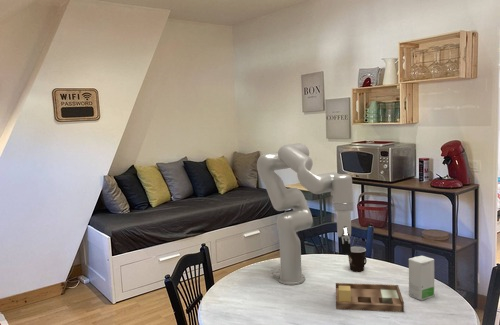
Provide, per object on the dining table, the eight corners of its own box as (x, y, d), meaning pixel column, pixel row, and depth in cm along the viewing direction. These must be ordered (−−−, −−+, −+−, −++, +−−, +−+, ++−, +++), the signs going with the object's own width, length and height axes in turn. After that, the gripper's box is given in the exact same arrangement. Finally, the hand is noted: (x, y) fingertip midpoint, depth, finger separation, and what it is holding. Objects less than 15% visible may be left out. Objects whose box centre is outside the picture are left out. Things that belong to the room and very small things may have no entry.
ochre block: (339, 301, 165) (338, 290, 164) (338, 296, 169) (338, 285, 168) (350, 301, 164) (350, 290, 163) (350, 296, 168) (350, 285, 168)
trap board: (335, 309, 163) (335, 298, 163) (335, 292, 178) (335, 283, 178) (403, 312, 158) (403, 301, 158) (398, 294, 173) (397, 285, 172)
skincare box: (420, 301, 166) (420, 263, 164) (407, 295, 172) (407, 258, 170) (435, 296, 170) (435, 258, 168) (421, 290, 176) (421, 254, 174)
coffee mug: (347, 266, 207) (346, 246, 205) (365, 266, 205) (364, 246, 204) (349, 275, 195) (348, 254, 194) (368, 275, 194) (368, 254, 193)
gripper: (333, 202, 172) (335, 243, 173) (334, 211, 155) (336, 257, 156) (351, 201, 170) (354, 243, 172) (355, 210, 153) (357, 256, 155)
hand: (345, 249), depth 164 cm, fingers open, 9 cm apart
